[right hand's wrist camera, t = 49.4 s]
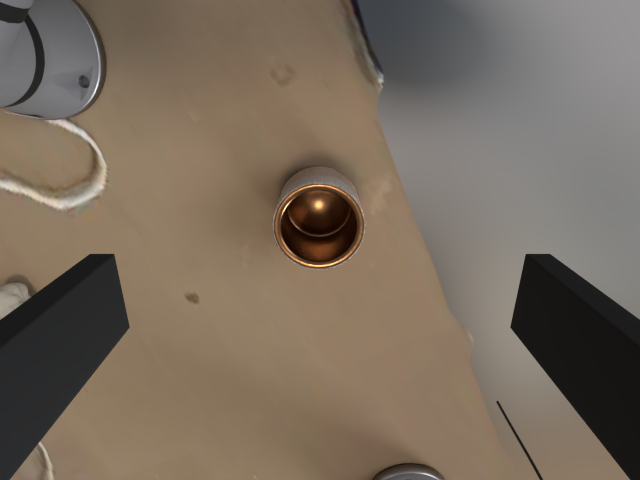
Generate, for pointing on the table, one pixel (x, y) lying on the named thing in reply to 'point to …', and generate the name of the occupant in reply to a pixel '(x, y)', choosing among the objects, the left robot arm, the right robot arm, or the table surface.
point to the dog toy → (12, 297)
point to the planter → (318, 219)
